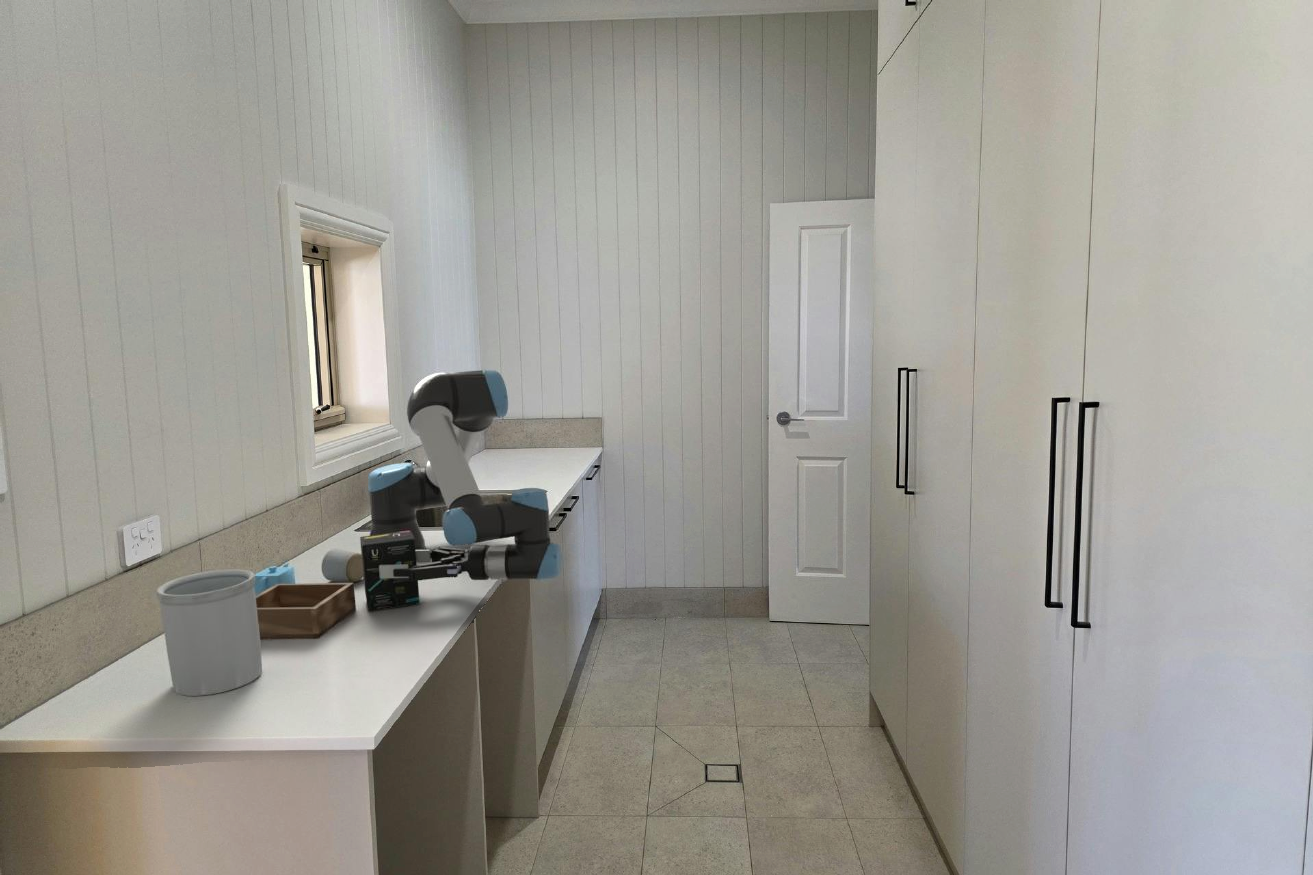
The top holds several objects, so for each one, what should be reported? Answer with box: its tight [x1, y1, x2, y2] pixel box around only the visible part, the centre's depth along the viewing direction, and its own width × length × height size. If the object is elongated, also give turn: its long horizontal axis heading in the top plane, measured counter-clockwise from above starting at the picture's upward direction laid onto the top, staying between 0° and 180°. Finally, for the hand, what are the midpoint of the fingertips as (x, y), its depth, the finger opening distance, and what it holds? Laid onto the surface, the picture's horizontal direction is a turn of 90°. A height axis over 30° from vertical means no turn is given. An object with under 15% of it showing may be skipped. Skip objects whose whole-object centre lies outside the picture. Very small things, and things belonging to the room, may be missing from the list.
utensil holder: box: [156, 568, 263, 697], centre depth 145 cm, size 15×15×18 cm
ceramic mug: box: [321, 548, 363, 584], centre depth 205 cm, size 11×8×8 cm
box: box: [255, 582, 357, 640], centre depth 174 cm, size 17×17×6 cm
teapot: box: [254, 562, 296, 596], centre depth 192 cm, size 12×6×8 cm, turn 176°
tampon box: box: [359, 531, 420, 613], centre depth 185 cm, size 11×9×15 cm
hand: (391, 563), depth 186 cm, fingers closed on tampon box, 11 cm apart
